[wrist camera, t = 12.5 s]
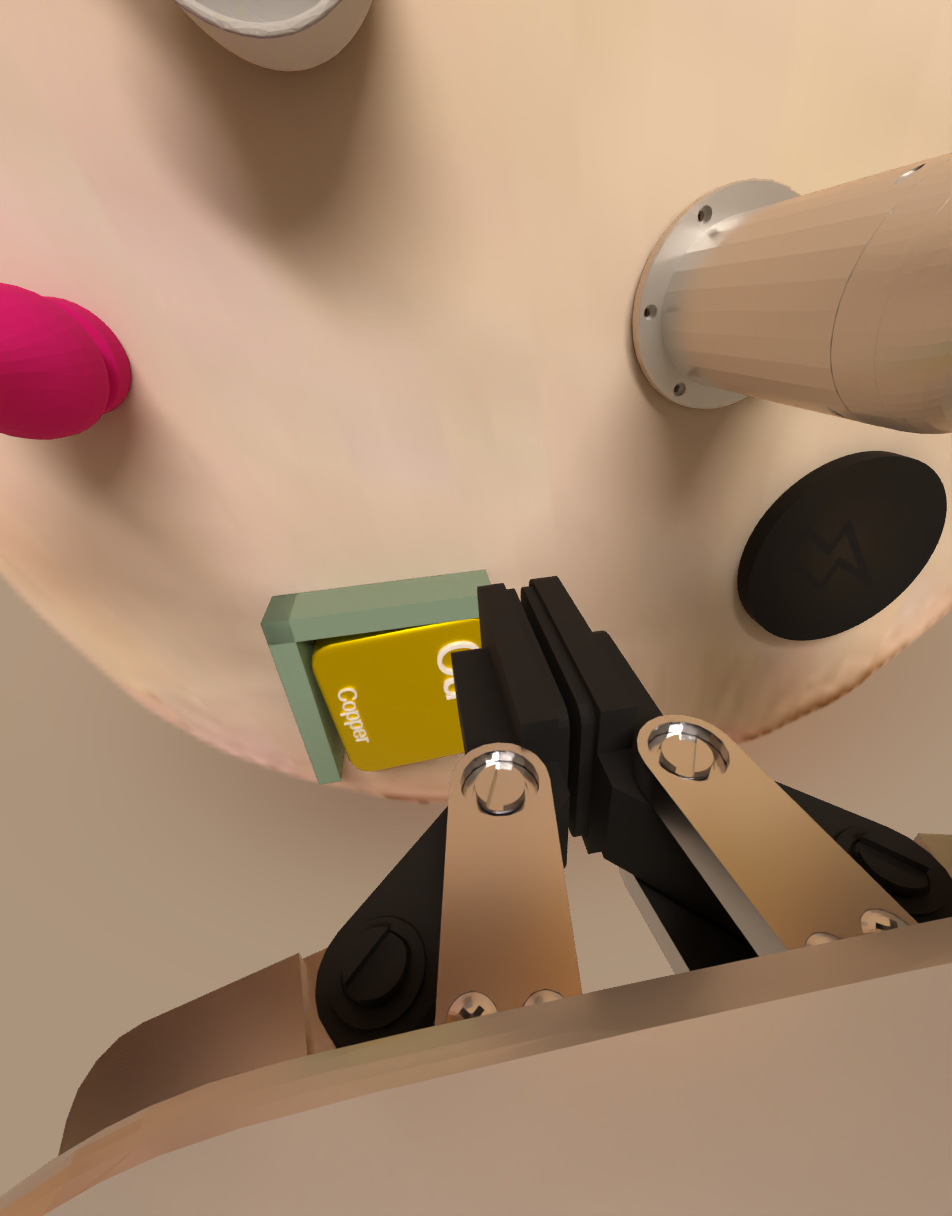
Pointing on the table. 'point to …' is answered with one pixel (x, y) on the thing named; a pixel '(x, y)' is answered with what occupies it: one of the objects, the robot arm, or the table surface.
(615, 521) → the table surface
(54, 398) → the pepper mill
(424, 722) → the element tile
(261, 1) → the teacup
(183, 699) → the table surface
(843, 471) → the wireless charger
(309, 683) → the corner stop
